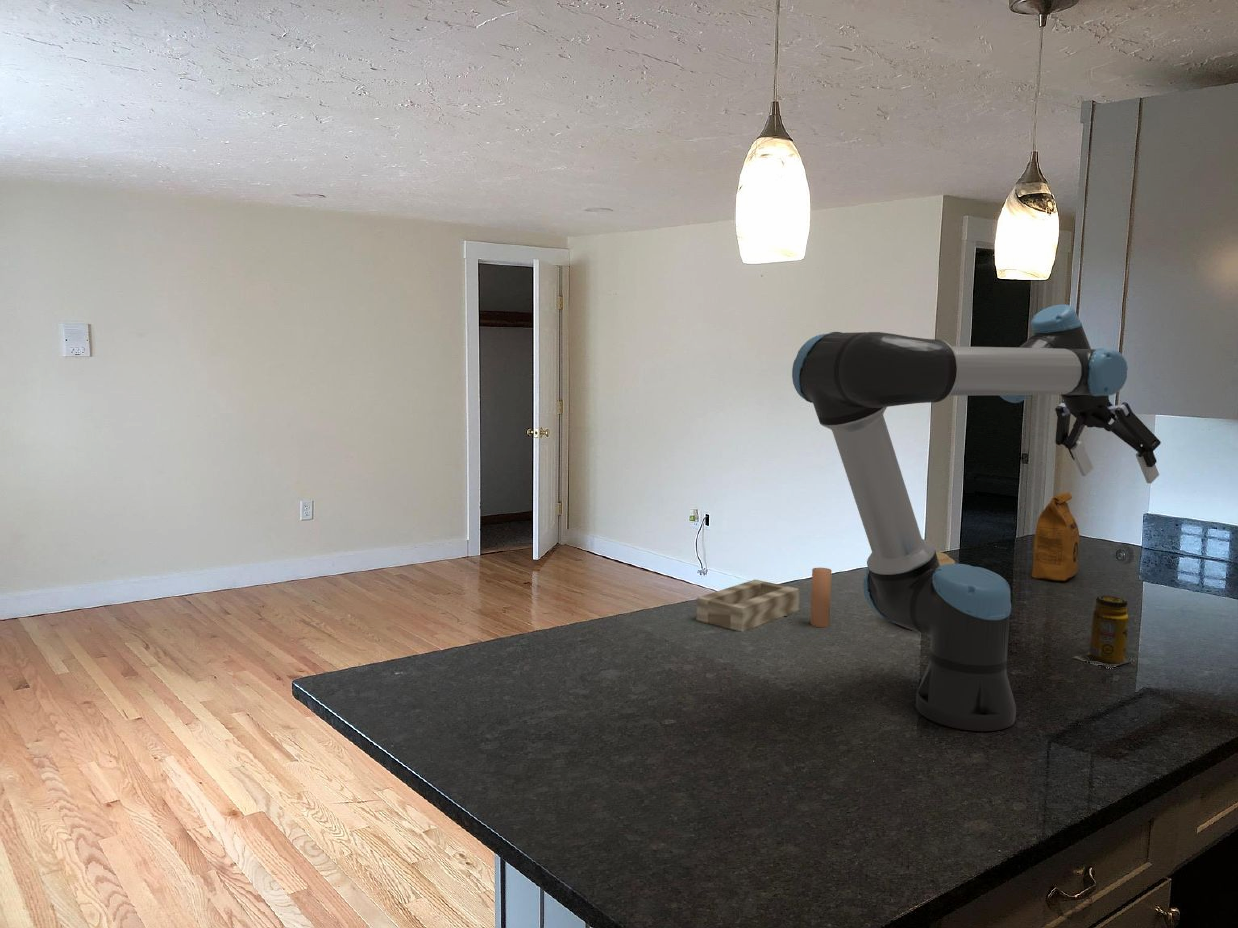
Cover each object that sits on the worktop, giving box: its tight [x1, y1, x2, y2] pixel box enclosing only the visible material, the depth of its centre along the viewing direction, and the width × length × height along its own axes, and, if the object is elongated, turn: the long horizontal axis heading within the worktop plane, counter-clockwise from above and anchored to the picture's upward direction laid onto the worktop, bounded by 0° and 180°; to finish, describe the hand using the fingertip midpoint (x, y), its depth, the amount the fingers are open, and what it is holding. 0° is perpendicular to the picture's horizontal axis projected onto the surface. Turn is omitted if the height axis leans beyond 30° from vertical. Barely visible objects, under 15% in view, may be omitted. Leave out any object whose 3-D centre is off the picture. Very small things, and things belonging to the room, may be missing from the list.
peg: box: [809, 567, 833, 628], centre depth 194 cm, size 4×4×12 cm
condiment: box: [1073, 595, 1135, 670], centre depth 173 cm, size 7×8×12 cm
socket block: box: [696, 579, 800, 633], centre depth 201 cm, size 22×12×5 cm, turn 137°
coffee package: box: [1031, 492, 1081, 582], centre depth 236 cm, size 10×12×22 cm
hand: (1119, 475), depth 174 cm, fingers open, 13 cm apart
